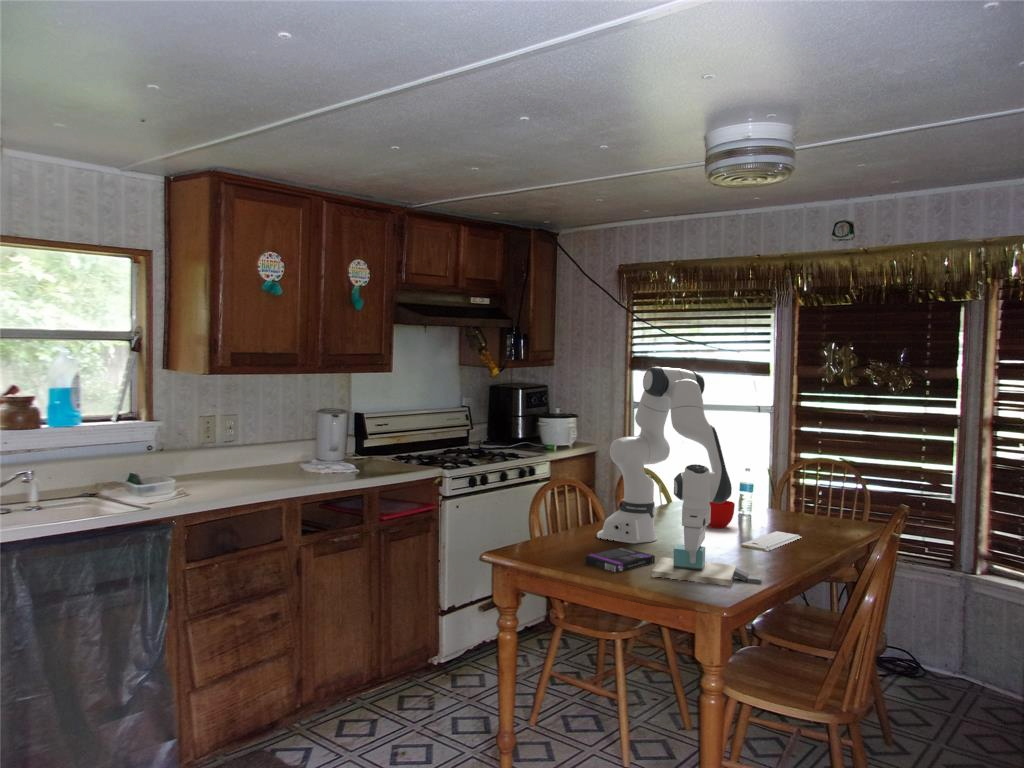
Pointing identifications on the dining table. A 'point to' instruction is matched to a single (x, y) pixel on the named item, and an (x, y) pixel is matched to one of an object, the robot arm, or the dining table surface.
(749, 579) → the grey block
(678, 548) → the block
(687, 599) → the dining table surface
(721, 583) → the board
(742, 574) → the grey block
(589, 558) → the box
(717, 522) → the red bowl
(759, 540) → the white spiral notebook
